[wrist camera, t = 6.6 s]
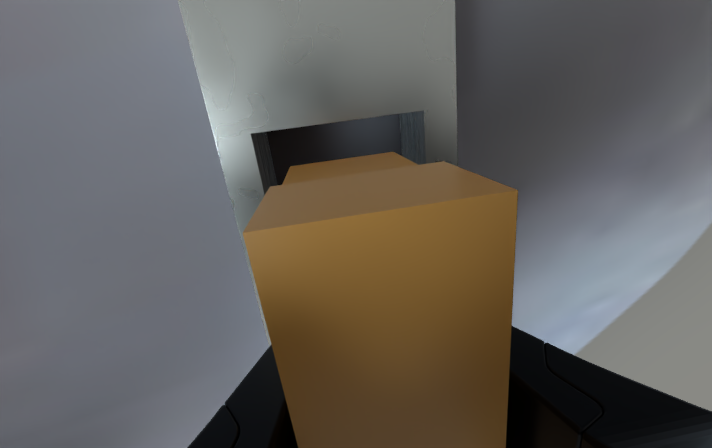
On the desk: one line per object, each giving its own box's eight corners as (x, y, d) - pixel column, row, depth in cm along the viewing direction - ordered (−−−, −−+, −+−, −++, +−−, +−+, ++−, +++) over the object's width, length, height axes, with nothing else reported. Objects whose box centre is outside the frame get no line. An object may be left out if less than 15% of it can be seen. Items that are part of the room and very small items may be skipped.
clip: (411, 369, 12) (498, 602, 6) (332, 384, 12) (348, 639, 6) (392, 141, 9) (517, 190, 4) (288, 155, 9) (242, 232, 3)
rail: (437, 386, 17) (462, 440, 14) (304, 412, 17) (303, 474, 14) (418, -22, 11) (453, -67, 8) (206, 0, 10) (167, -40, 8)
